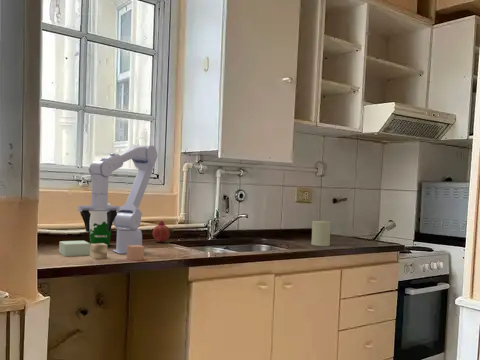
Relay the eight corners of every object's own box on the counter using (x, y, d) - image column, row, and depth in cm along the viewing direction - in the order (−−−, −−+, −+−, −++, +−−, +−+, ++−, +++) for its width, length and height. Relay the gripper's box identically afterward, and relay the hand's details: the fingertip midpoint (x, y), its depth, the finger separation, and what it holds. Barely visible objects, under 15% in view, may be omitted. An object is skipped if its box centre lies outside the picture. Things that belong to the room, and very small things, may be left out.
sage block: (83, 252, 179) (83, 240, 179) (89, 255, 172) (90, 243, 172) (59, 253, 174) (59, 241, 174) (64, 256, 167) (65, 244, 167)
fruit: (148, 242, 211) (149, 220, 211) (157, 240, 219) (157, 219, 219) (164, 244, 209) (165, 222, 209) (172, 242, 217) (173, 220, 217)
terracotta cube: (139, 257, 170) (139, 244, 170) (144, 259, 166) (144, 246, 166) (126, 258, 167) (127, 245, 167) (131, 260, 163) (131, 247, 163)
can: (326, 246, 223) (327, 221, 223) (308, 244, 227) (309, 220, 227) (332, 244, 231) (333, 220, 231) (315, 243, 235) (315, 219, 235)
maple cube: (102, 256, 171) (103, 243, 171) (106, 258, 166) (107, 244, 167) (89, 256, 168) (90, 243, 168) (93, 258, 164) (94, 245, 164)
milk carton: (108, 243, 202) (110, 198, 202) (111, 246, 194) (113, 199, 194) (87, 244, 199) (89, 197, 199) (90, 247, 190) (92, 198, 191)
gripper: (115, 193, 175) (114, 229, 175) (76, 193, 167) (74, 230, 167) (122, 194, 169) (120, 231, 169) (81, 193, 161) (80, 232, 161)
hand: (98, 231), depth 167 cm, fingers open, 7 cm apart
